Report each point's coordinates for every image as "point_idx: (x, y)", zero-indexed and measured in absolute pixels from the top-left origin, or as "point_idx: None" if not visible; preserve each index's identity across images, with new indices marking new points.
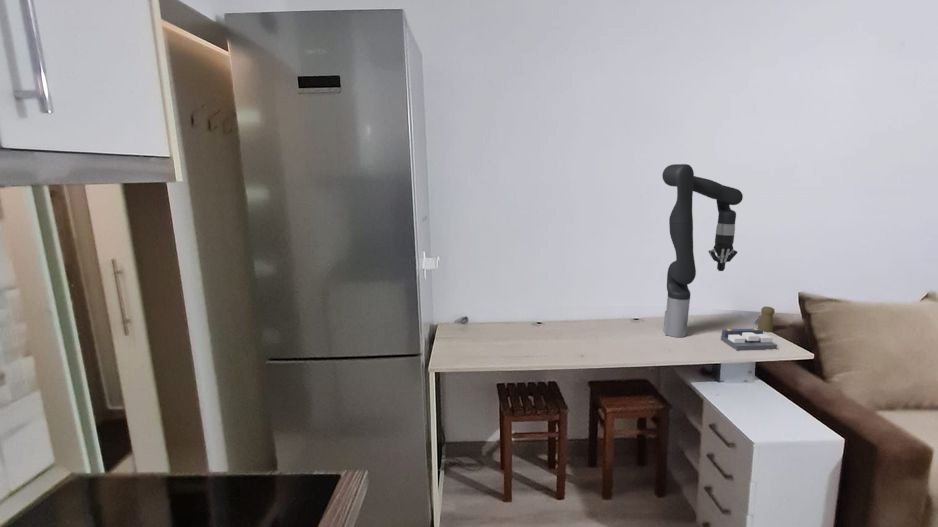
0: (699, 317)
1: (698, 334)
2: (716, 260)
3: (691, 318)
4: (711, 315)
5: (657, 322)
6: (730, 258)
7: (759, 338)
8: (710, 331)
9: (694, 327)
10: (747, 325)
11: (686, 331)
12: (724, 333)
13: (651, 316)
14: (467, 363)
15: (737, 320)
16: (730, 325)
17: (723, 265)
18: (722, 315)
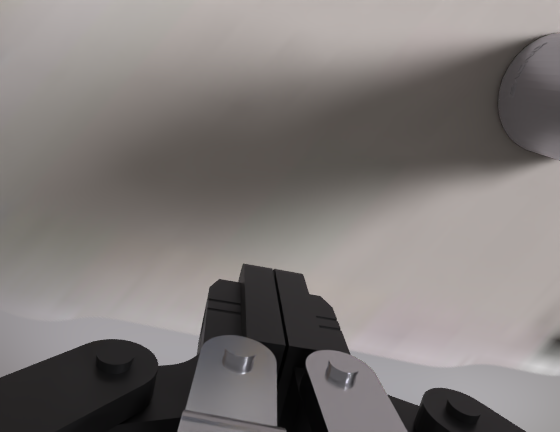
0: None
1: (435, 48)
2: (503, 420)
3: None
4: (113, 308)
5: (498, 277)
6: (42, 403)
7: None
8: (328, 72)
9: (367, 157)
10: (11, 100)
11: (541, 44)
12: None
13: (456, 362)
14: None
15: (11, 196)
16: (125, 129)
17: (262, 314)
18: (43, 294)
